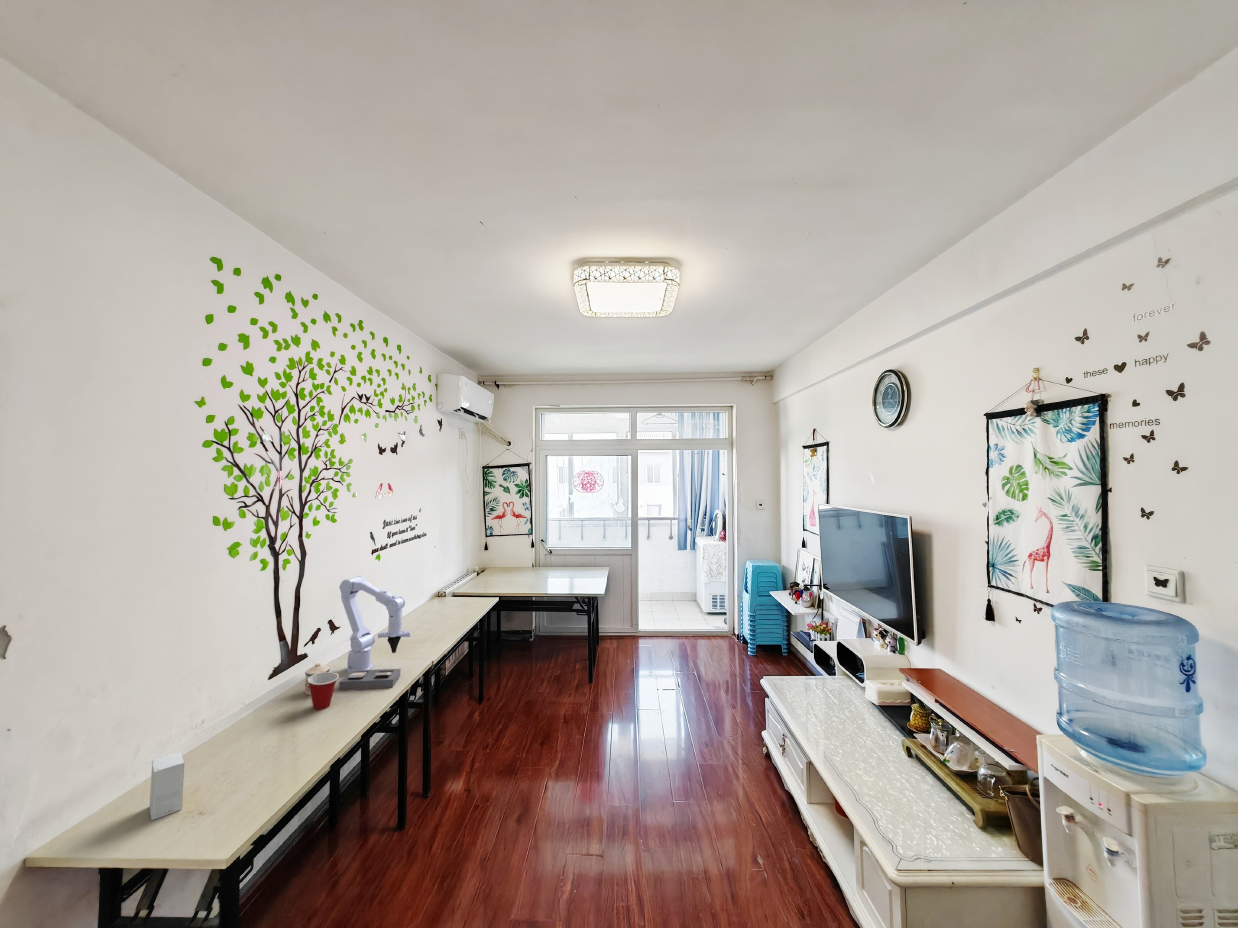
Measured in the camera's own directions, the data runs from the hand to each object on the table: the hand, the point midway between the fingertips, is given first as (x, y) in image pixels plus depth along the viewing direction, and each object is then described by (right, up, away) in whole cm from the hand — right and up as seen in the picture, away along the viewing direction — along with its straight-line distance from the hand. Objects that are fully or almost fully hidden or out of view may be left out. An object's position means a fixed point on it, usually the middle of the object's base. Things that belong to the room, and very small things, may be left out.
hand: (394, 652), depth 228 cm
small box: (-20, -7, -94) cm, 96 cm away
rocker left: (-10, -5, -13) cm, 17 cm away
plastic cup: (-13, -9, -35) cm, 38 cm away
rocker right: (+1, -5, -11) cm, 12 cm away
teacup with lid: (-22, -9, -21) cm, 32 cm away
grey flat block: (-5, -9, -12) cm, 16 cm away
